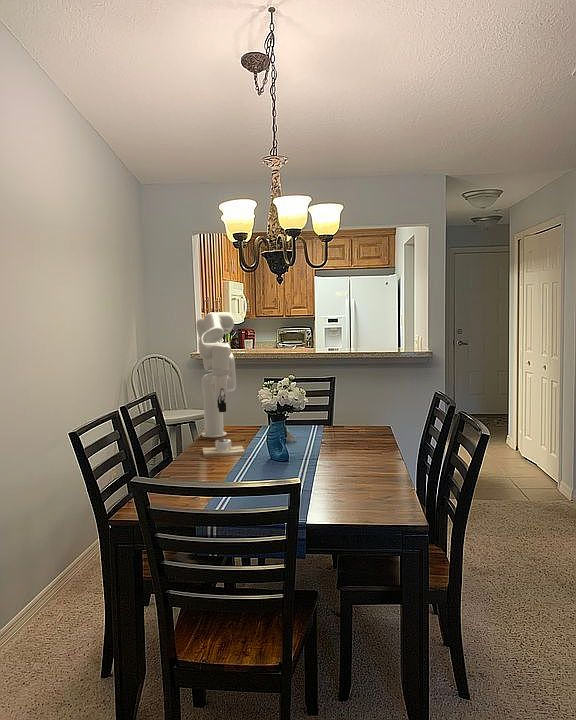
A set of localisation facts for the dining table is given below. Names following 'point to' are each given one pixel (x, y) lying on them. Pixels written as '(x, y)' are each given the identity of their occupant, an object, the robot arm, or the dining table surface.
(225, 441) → the dark domed cylinder
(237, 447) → the block
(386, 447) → the dining table surface
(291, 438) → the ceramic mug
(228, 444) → the ring
